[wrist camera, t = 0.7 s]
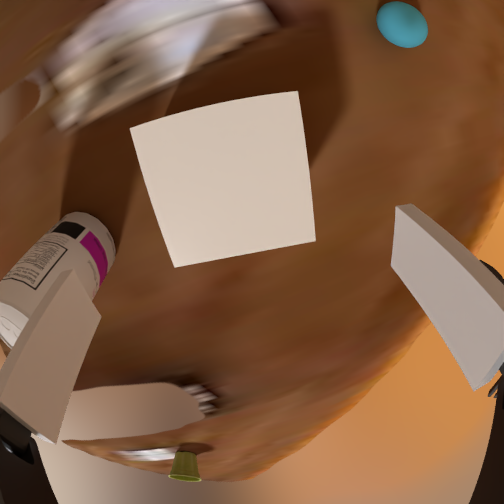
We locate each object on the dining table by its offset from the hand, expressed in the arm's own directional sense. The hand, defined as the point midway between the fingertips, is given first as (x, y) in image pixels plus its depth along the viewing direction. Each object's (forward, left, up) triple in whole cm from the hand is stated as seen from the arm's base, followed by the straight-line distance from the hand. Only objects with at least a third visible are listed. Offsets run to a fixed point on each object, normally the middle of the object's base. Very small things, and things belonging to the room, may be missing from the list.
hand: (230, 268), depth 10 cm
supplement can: (+4, -18, -17) cm, 25 cm away
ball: (-13, +18, -14) cm, 26 cm away
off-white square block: (-1, 0, -17) cm, 17 cm away
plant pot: (+73, -31, -17) cm, 81 cm away
